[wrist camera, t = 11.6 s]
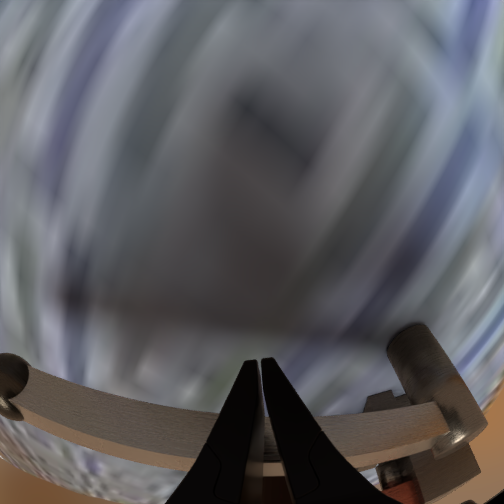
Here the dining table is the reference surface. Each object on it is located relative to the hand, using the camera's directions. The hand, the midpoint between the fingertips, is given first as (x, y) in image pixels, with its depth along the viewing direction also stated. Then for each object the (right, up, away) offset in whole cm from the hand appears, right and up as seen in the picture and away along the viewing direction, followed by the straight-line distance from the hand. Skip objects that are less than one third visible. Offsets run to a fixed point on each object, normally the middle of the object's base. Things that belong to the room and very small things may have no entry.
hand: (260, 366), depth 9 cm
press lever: (0, -1, +5) cm, 5 cm away
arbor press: (+13, -11, +11) cm, 21 cm away
